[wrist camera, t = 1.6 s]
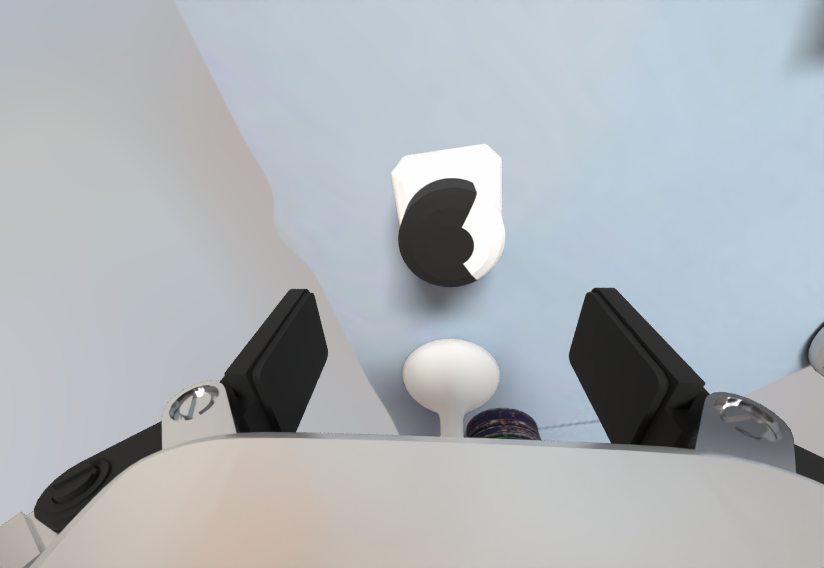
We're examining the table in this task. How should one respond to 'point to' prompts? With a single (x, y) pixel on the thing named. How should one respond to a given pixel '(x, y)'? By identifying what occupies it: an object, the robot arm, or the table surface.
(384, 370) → the table surface
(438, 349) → the flower in vase
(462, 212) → the medicine bottle
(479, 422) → the dark blue cylinder
